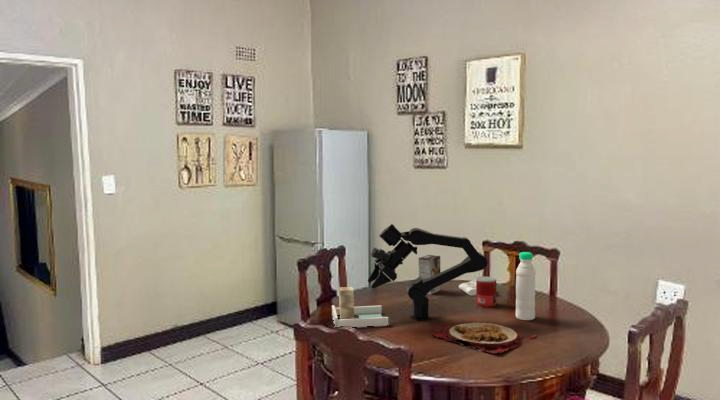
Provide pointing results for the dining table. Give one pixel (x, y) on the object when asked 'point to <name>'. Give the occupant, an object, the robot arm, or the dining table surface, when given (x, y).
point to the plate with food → (482, 336)
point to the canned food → (486, 291)
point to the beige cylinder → (346, 302)
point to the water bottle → (525, 288)
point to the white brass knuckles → (469, 287)
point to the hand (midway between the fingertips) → (370, 284)
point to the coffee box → (429, 269)
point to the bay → (361, 317)
